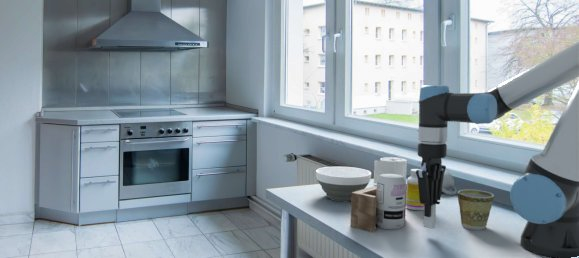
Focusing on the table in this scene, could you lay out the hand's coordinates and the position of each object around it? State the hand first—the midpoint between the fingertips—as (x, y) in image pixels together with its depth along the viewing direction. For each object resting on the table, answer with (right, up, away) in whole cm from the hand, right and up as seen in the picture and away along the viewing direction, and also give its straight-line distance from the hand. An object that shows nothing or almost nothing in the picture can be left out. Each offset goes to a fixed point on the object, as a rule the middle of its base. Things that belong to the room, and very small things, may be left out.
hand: (429, 227), depth 136 cm
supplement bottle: (+4, +1, +28) cm, 28 cm away
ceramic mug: (+20, +3, +52) cm, 56 cm away
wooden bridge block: (-12, -1, +11) cm, 16 cm away
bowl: (-20, +2, +40) cm, 45 cm away
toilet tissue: (+3, +5, +64) cm, 65 cm away
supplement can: (-9, -1, +9) cm, 13 cm away
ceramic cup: (+17, -2, +10) cm, 20 cm away
